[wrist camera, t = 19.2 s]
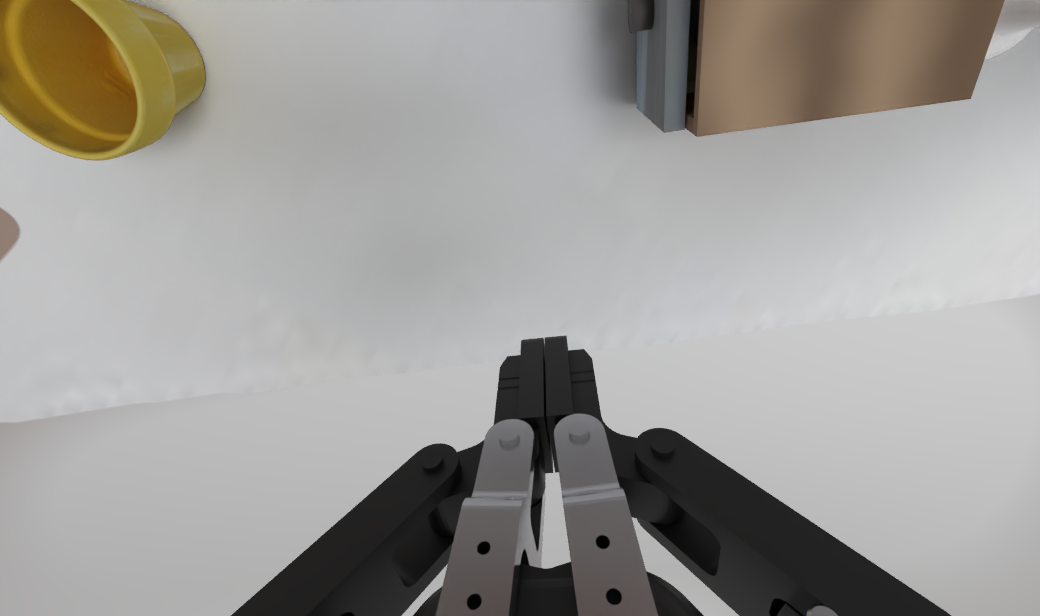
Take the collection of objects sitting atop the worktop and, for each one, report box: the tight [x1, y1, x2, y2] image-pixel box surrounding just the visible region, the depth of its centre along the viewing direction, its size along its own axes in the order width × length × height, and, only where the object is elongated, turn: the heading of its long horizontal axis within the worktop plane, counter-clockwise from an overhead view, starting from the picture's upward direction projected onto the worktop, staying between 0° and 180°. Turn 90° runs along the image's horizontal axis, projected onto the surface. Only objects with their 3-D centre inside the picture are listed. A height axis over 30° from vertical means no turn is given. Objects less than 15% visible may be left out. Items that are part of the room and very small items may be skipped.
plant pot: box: [0, 0, 205, 160], centre depth 31 cm, size 10×10×10 cm
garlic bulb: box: [984, 0, 1040, 60], centre depth 29 cm, size 6×6×8 cm
